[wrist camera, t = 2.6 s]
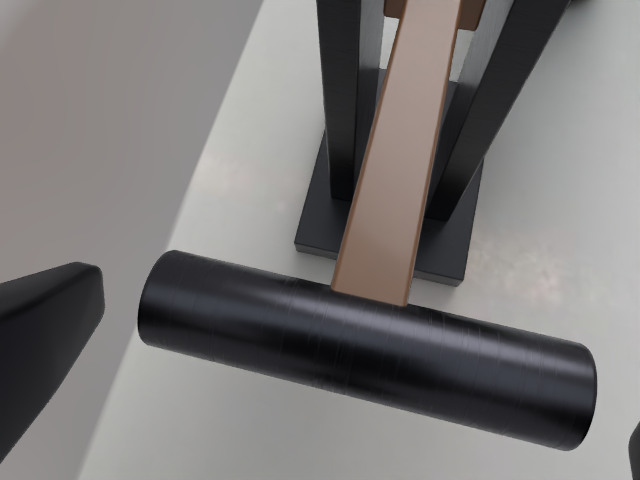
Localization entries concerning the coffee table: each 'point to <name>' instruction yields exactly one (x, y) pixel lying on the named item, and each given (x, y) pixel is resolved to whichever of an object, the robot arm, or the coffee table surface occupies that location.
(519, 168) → the coffee table surface
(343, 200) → the bracket
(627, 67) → the coffee table surface
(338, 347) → the lever
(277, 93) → the coffee table surface
